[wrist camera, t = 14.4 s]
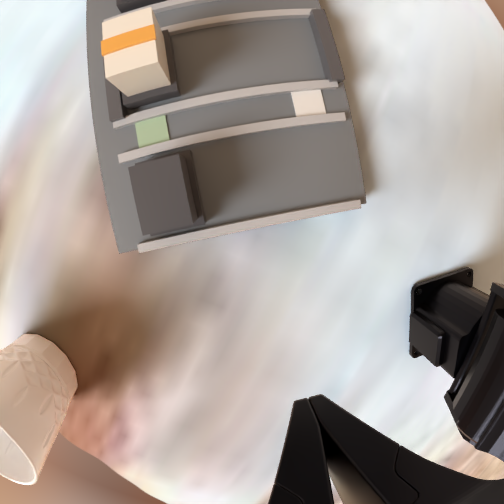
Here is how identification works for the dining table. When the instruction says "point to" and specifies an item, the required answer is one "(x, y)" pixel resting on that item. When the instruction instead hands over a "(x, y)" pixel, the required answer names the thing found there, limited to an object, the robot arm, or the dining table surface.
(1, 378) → the white cup
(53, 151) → the dining table surface
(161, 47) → the breaker
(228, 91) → the breaker panel
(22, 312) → the dining table surface
